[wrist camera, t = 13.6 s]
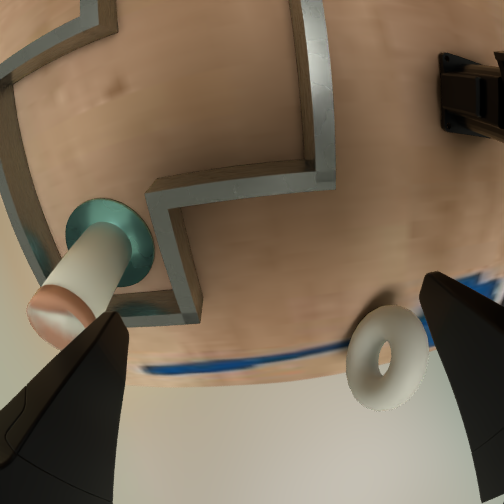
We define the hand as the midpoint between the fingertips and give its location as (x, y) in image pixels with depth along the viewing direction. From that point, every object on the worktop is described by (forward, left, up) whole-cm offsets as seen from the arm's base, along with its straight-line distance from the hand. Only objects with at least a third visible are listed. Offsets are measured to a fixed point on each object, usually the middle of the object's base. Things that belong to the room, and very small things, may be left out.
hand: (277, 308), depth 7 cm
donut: (-10, +16, -13) cm, 23 cm away
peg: (+12, +4, -13) cm, 18 cm away
